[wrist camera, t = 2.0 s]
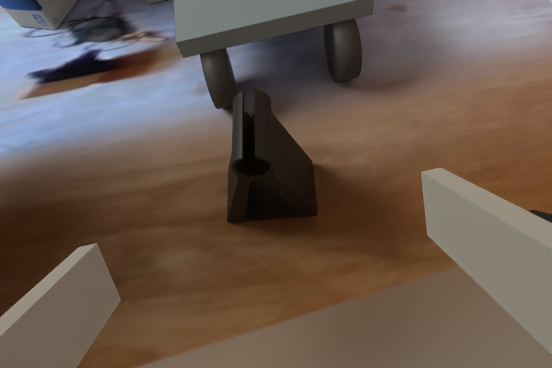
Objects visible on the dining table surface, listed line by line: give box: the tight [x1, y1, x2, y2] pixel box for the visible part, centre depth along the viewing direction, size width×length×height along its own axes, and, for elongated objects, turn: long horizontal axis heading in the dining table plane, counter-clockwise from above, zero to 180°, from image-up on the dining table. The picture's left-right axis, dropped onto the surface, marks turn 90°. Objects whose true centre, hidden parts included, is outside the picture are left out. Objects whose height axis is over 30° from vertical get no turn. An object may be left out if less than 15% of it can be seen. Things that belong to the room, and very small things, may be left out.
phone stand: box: [227, 90, 317, 223], centre depth 30 cm, size 9×6×12 cm, turn 92°
